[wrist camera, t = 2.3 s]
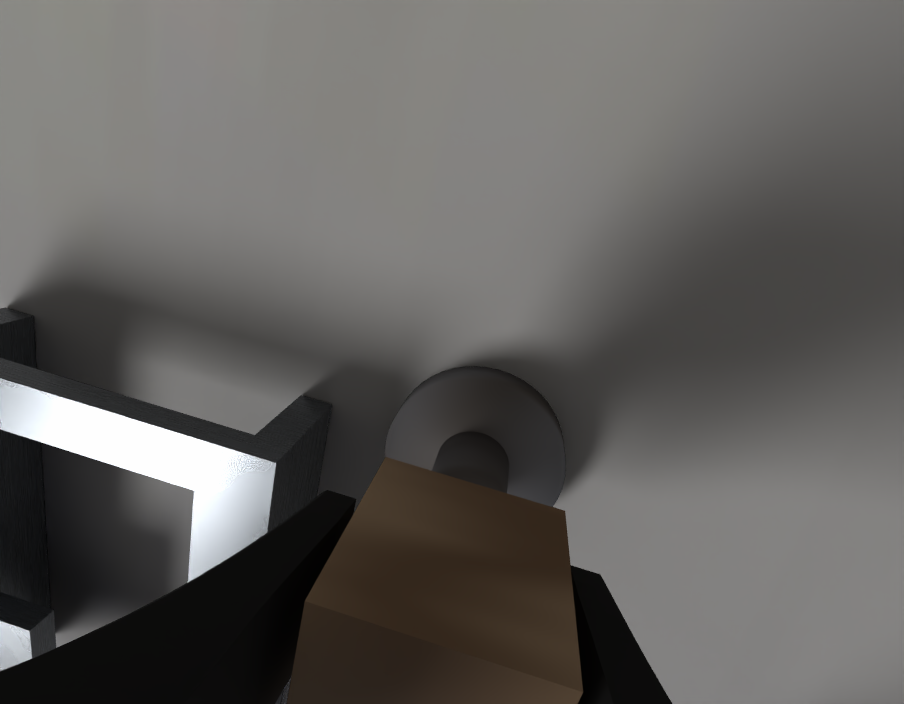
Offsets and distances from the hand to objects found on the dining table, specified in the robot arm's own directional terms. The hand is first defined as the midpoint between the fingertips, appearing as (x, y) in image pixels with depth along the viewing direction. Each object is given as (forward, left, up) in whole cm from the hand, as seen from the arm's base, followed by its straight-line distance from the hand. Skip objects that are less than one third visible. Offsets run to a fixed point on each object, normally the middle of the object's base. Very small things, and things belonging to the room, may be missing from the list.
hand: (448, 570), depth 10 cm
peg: (0, 0, -5) cm, 5 cm away
